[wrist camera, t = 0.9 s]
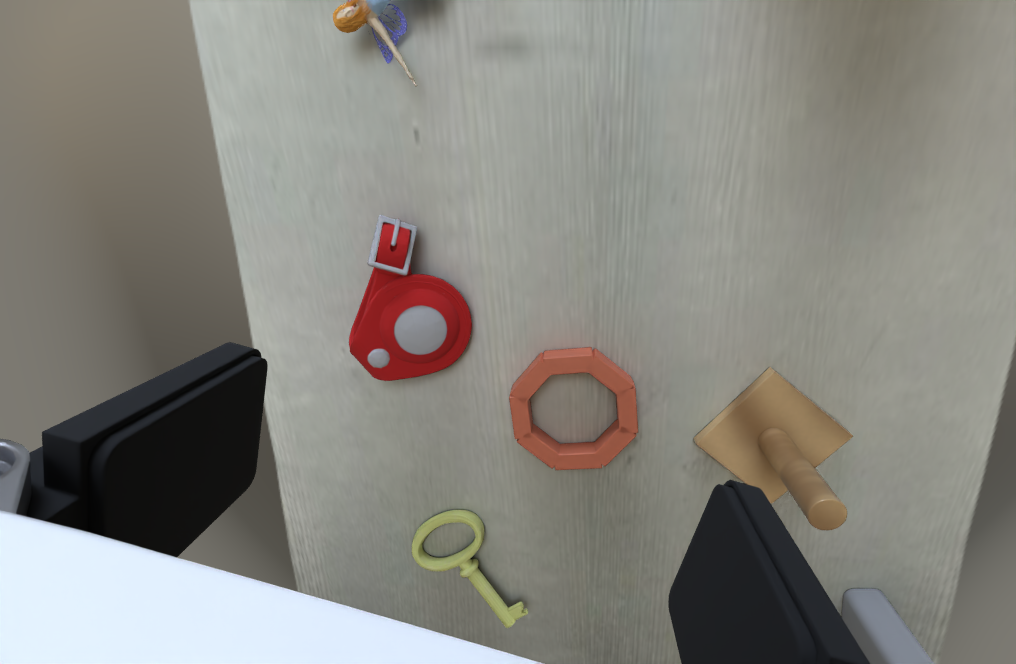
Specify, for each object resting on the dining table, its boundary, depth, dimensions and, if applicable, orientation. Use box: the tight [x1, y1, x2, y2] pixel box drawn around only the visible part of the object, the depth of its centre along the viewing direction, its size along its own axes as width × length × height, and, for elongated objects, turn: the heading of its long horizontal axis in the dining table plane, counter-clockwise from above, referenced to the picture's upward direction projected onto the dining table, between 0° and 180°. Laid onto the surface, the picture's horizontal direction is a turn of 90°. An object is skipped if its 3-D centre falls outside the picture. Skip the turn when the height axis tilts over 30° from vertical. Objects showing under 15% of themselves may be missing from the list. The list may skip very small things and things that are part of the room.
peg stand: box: [694, 367, 853, 530], centre depth 36 cm, size 8×8×10 cm
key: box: [412, 510, 528, 628], centre depth 46 cm, size 7×12×2 cm, turn 55°
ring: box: [509, 347, 638, 470], centre depth 41 cm, size 10×10×2 cm
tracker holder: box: [349, 215, 472, 381], centre depth 39 cm, size 12×4×10 cm
